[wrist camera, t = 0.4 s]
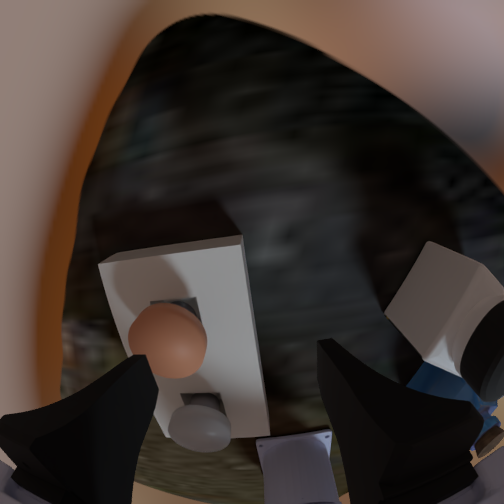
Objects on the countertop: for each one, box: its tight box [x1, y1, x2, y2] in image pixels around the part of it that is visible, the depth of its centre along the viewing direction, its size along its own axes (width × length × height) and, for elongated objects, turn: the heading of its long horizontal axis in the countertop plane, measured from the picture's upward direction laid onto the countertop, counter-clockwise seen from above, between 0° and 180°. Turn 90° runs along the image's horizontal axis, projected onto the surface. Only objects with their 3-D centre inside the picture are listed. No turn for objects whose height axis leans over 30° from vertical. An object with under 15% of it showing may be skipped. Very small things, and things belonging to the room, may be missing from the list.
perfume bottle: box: [406, 361, 504, 458], centre depth 17 cm, size 6×6×12 cm
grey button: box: [168, 393, 231, 452], centre depth 18 cm, size 4×4×4 cm
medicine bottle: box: [384, 241, 504, 402], centre depth 15 cm, size 7×7×12 cm
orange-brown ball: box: [128, 301, 207, 379], centre depth 16 cm, size 4×4×4 cm
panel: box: [98, 235, 270, 438], centre depth 20 cm, size 17×10×3 cm, turn 8°
